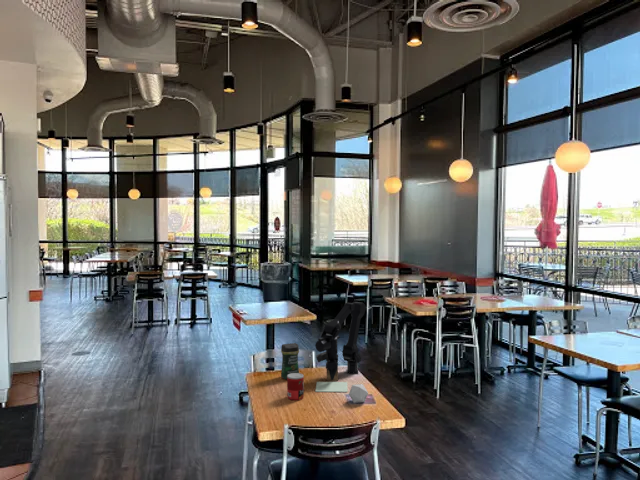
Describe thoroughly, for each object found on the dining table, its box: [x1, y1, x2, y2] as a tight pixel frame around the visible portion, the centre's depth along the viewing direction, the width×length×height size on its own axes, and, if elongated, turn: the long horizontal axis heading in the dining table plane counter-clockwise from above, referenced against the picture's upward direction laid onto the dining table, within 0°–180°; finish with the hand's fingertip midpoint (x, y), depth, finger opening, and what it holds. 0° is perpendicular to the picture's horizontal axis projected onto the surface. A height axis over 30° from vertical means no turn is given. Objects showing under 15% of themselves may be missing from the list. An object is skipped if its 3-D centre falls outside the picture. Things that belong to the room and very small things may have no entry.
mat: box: [314, 381, 349, 393], centre depth 240 cm, size 14×16×1 cm
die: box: [348, 383, 369, 404], centre depth 220 cm, size 8×9×10 cm
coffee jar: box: [280, 342, 300, 380], centre depth 256 cm, size 10×8×19 cm
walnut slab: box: [326, 368, 339, 382], centre depth 251 cm, size 2×6×6 cm, turn 87°
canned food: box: [286, 372, 305, 402], centre depth 225 cm, size 8×8×11 cm
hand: (332, 376), depth 251 cm, fingers open, 9 cm apart
